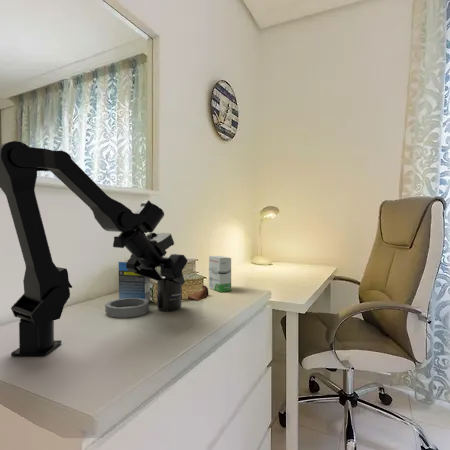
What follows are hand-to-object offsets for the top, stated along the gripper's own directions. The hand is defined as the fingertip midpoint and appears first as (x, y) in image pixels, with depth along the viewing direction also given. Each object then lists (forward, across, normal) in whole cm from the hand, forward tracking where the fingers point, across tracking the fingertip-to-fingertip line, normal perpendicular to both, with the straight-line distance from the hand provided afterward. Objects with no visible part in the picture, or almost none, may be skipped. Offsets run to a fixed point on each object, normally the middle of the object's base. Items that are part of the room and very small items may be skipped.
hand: (171, 281), depth 94 cm
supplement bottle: (+5, 0, +6) cm, 8 cm away
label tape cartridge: (+4, +14, +6) cm, 16 cm away
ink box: (+25, +3, -14) cm, 29 cm away
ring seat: (-2, +7, +12) cm, 14 cm away
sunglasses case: (+14, +8, -2) cm, 17 cm away
